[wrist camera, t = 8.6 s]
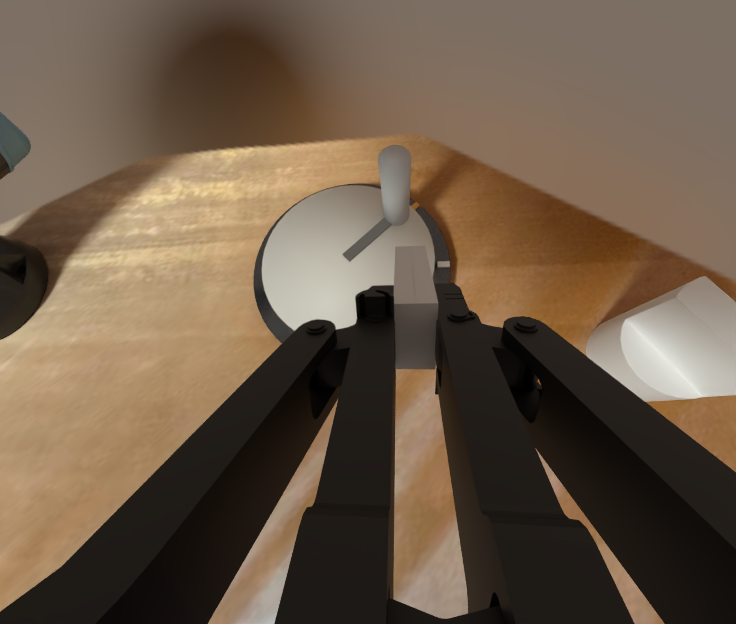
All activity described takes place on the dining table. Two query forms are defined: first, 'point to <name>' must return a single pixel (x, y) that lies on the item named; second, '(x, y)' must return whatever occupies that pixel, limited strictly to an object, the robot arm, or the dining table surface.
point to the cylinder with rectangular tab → (672, 344)
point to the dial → (342, 245)
